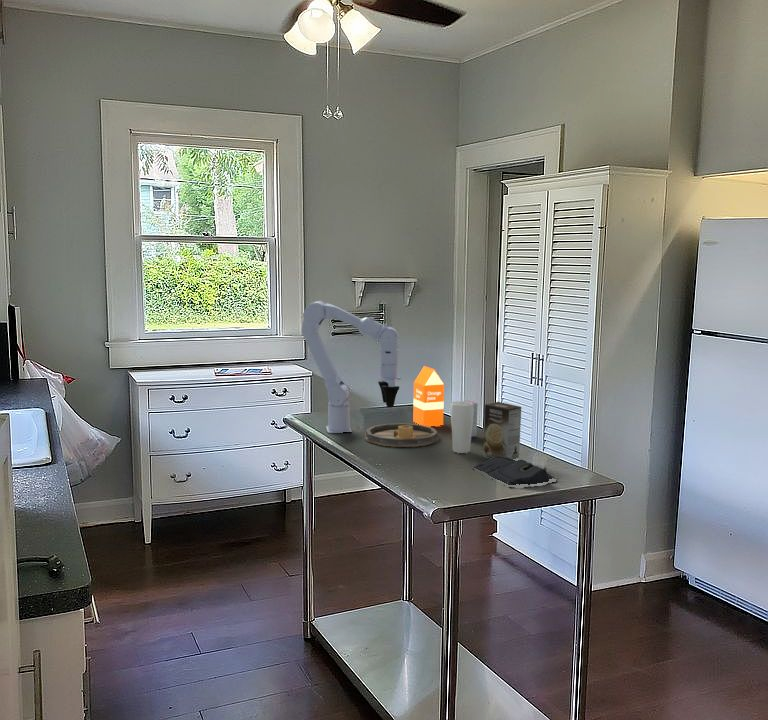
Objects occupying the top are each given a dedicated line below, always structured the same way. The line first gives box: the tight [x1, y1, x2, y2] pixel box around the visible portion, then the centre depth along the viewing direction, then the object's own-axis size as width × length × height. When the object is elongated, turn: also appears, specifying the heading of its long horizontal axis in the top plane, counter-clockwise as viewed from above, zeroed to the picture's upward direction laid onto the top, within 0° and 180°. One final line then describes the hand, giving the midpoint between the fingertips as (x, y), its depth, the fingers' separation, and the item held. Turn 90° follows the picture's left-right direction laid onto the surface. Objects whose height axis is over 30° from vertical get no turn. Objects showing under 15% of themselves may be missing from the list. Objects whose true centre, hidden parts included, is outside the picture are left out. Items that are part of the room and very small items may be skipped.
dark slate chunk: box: [473, 456, 555, 485], centre depth 212 cm, size 15×22×5 cm
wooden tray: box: [363, 422, 440, 448], centre depth 253 cm, size 24×24×3 cm
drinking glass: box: [450, 400, 474, 454], centre depth 235 cm, size 7×7×15 cm
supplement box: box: [465, 400, 478, 439], centre depth 255 cm, size 6×6×12 cm
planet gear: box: [395, 425, 416, 439], centre depth 246 cm, size 6×6×4 cm
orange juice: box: [412, 365, 445, 428], centre depth 273 cm, size 8×9×20 cm
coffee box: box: [482, 401, 522, 459], centre depth 228 cm, size 9×6×16 cm
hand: (388, 404), depth 260 cm, fingers open, 7 cm apart
